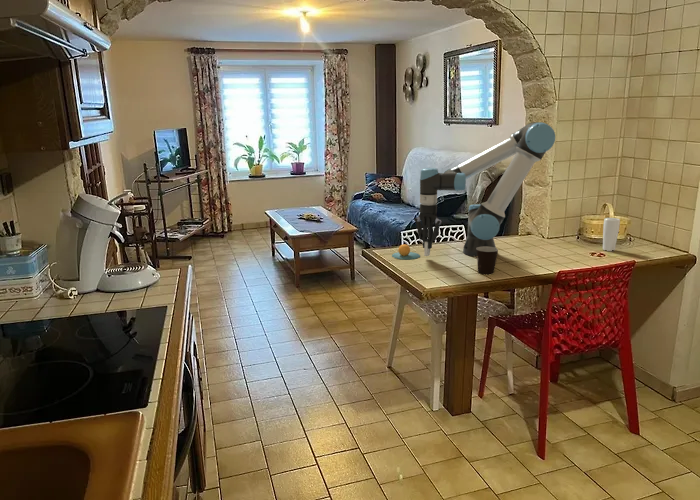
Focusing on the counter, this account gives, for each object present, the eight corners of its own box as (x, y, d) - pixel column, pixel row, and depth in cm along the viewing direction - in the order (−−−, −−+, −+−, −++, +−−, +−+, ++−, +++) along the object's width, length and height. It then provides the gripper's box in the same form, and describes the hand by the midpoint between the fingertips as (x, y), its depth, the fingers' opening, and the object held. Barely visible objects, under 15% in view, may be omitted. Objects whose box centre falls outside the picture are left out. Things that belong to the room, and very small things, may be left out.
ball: (404, 256, 247) (414, 252, 244) (398, 258, 243) (408, 255, 240) (400, 245, 247) (409, 241, 244) (394, 247, 243) (403, 243, 240)
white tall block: (617, 249, 249) (621, 218, 245) (615, 252, 244) (619, 221, 240) (601, 247, 253) (605, 217, 249) (599, 250, 247) (603, 219, 243)
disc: (425, 254, 246) (425, 254, 246) (411, 261, 235) (411, 260, 235) (400, 250, 253) (400, 250, 253) (386, 257, 243) (386, 256, 243)
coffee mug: (493, 276, 212) (494, 252, 209) (472, 273, 216) (473, 250, 214) (501, 269, 221) (502, 246, 219) (481, 266, 226) (482, 243, 223)
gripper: (411, 203, 232) (410, 255, 238) (437, 206, 225) (436, 259, 231) (419, 201, 238) (418, 251, 244) (445, 203, 231) (444, 255, 237)
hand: (427, 255), depth 237 cm, fingers closed
